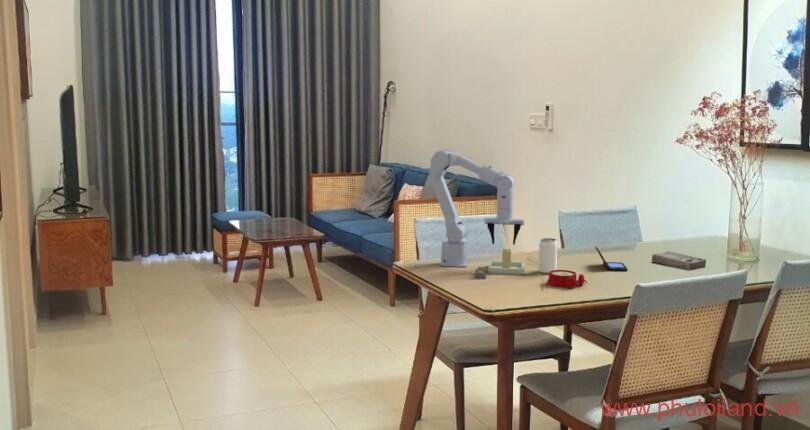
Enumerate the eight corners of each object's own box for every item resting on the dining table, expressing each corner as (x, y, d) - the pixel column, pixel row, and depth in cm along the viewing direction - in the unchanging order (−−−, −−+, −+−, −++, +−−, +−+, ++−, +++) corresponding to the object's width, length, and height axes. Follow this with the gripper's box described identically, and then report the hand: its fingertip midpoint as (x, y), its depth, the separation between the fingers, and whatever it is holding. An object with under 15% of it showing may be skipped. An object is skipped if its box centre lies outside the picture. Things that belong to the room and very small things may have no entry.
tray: (488, 273, 283) (488, 268, 282) (489, 265, 296) (489, 260, 295) (524, 274, 281) (524, 269, 281) (523, 267, 294) (524, 262, 293)
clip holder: (474, 278, 275) (474, 271, 275) (475, 272, 284) (475, 266, 283) (485, 278, 275) (485, 271, 274) (486, 273, 283) (486, 266, 283)
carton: (502, 270, 286) (502, 251, 285) (502, 267, 291) (502, 248, 290) (510, 270, 285) (510, 251, 284) (510, 267, 290) (511, 248, 289)
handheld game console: (628, 272, 287) (629, 252, 286) (598, 271, 289) (599, 251, 288) (622, 265, 300) (623, 246, 299) (594, 264, 301) (595, 245, 300)
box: (667, 258, 311) (668, 250, 310) (706, 267, 297) (706, 259, 296) (650, 262, 305) (651, 254, 304) (689, 271, 291) (689, 263, 290)
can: (557, 270, 289) (558, 238, 287) (554, 274, 283) (556, 241, 281) (540, 269, 291) (541, 237, 289) (537, 272, 285) (538, 240, 283)
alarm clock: (557, 268, 276) (592, 266, 264) (559, 286, 275) (595, 284, 264) (538, 272, 269) (573, 270, 257) (541, 290, 269) (576, 289, 257)
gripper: (484, 208, 286) (483, 244, 288) (524, 209, 283) (523, 246, 285) (485, 205, 292) (484, 241, 295) (524, 207, 290) (523, 242, 292)
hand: (503, 243), depth 290 cm, fingers open, 7 cm apart
